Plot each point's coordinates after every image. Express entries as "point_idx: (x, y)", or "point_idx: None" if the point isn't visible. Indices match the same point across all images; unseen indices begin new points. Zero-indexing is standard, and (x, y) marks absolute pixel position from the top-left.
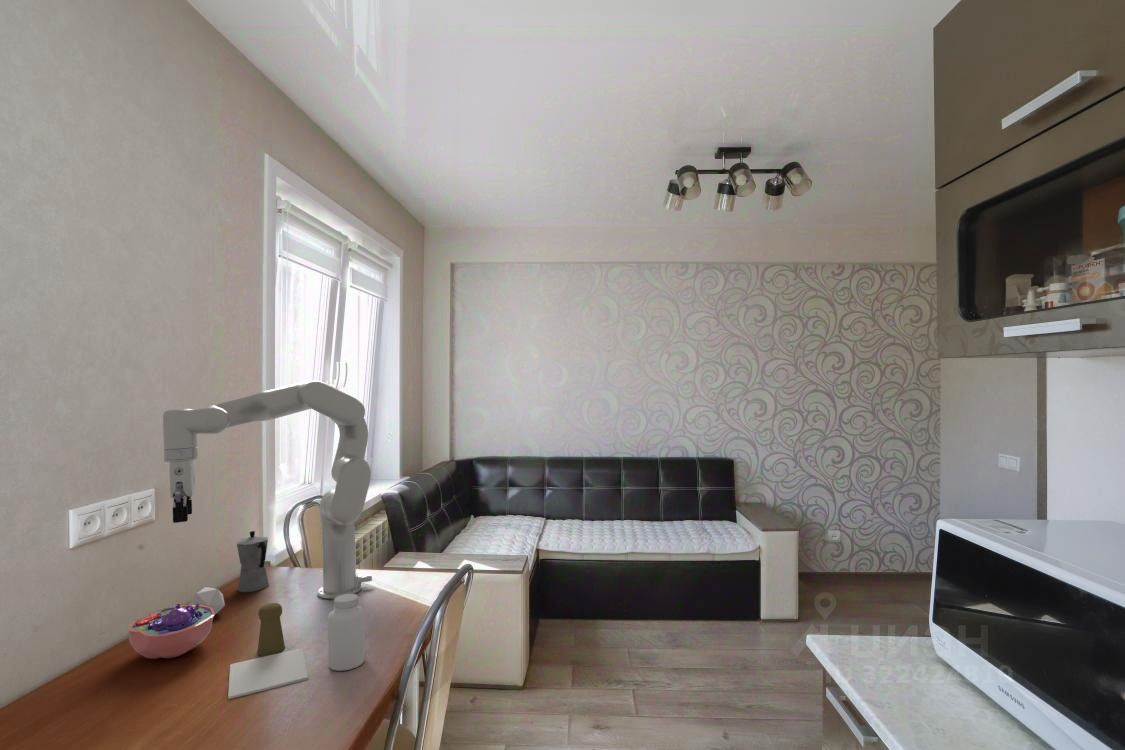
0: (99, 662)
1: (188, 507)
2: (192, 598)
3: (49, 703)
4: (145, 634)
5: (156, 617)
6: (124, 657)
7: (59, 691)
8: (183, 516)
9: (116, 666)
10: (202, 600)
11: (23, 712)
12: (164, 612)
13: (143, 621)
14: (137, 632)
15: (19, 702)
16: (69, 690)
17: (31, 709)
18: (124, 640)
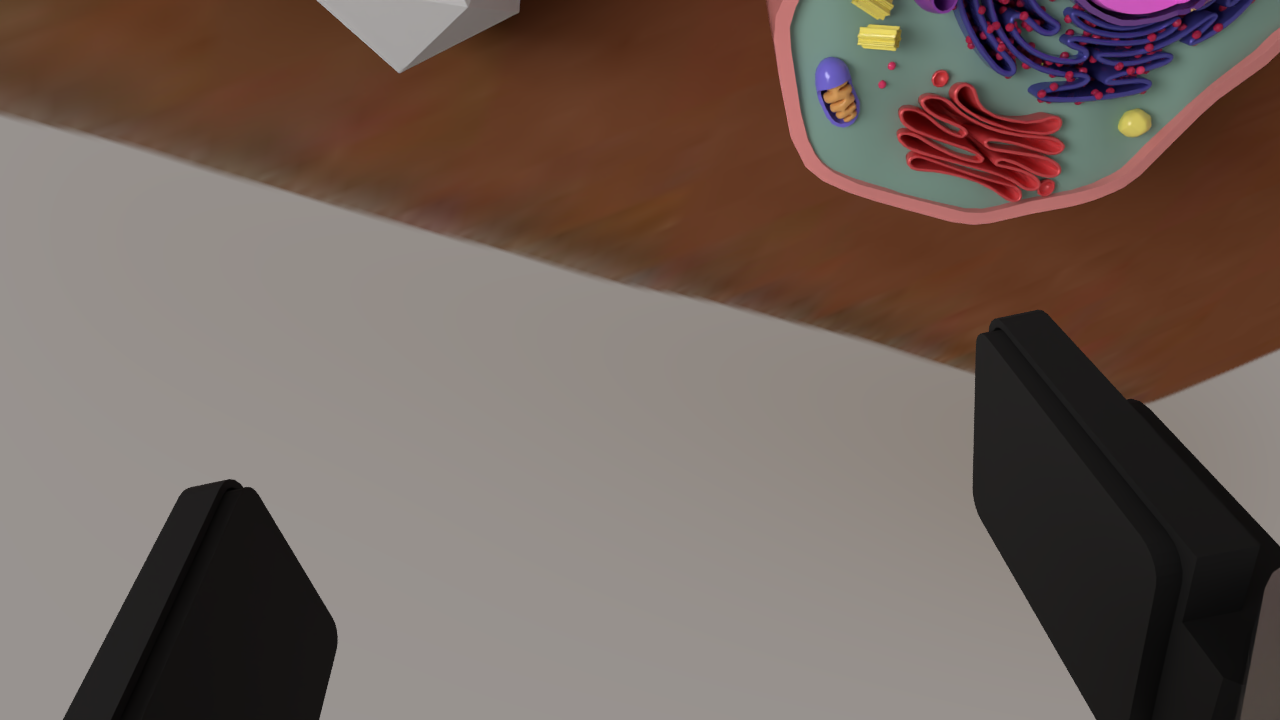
0: (903, 274)
1: (224, 632)
2: (441, 38)
3: (1234, 282)
4: (1268, 56)
5: (980, 103)
6: None
7: (1136, 297)
8: (1149, 417)
9: None
10: None
11: (1252, 332)
12: (875, 92)
13: (1012, 160)
14: (1185, 123)
15: (1147, 385)
16: (1152, 264)
17: (1244, 318)
18: (663, 278)
